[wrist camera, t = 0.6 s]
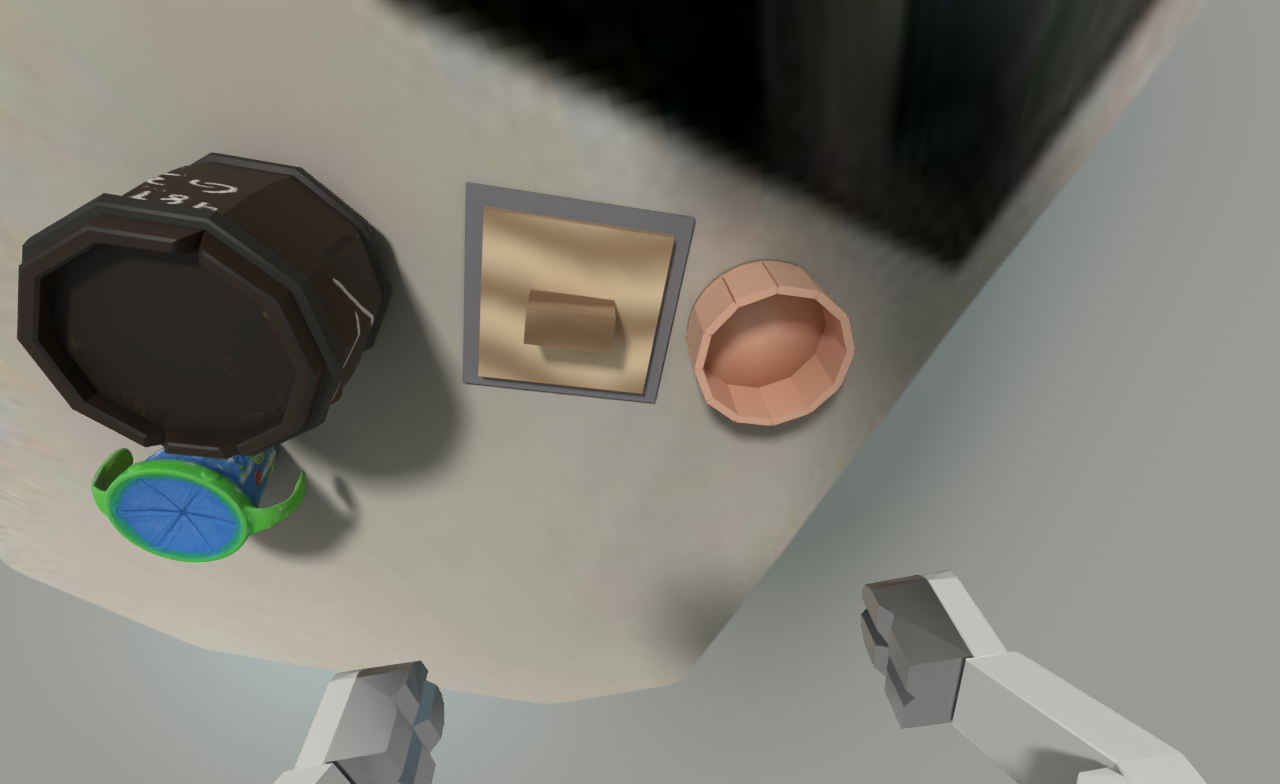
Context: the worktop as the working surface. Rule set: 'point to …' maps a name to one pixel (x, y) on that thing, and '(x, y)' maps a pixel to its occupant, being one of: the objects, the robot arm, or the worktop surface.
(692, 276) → the worktop surface
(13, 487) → the worktop surface
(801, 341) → the bowl
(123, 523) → the snack cup
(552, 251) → the lid
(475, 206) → the mat
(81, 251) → the barrel
